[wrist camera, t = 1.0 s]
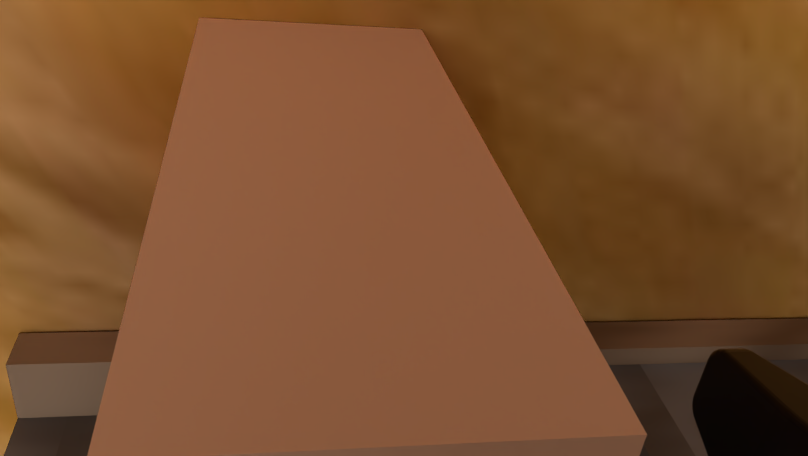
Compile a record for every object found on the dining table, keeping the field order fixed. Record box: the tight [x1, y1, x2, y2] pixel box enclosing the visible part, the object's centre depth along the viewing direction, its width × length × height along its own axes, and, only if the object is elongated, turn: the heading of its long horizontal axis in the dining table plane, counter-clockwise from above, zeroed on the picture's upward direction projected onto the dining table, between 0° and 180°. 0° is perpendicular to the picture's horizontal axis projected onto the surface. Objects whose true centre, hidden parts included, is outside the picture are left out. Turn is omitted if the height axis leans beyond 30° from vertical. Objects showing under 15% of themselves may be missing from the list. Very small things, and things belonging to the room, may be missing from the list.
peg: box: [87, 18, 647, 456], centre depth 11 cm, size 4×4×10 cm
